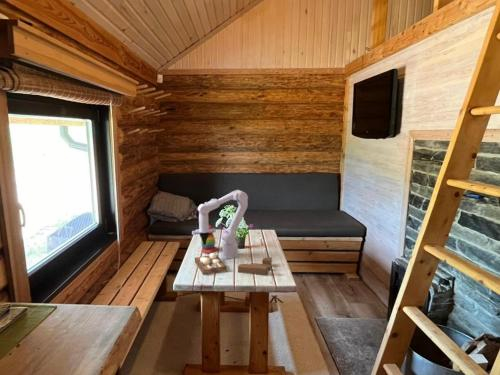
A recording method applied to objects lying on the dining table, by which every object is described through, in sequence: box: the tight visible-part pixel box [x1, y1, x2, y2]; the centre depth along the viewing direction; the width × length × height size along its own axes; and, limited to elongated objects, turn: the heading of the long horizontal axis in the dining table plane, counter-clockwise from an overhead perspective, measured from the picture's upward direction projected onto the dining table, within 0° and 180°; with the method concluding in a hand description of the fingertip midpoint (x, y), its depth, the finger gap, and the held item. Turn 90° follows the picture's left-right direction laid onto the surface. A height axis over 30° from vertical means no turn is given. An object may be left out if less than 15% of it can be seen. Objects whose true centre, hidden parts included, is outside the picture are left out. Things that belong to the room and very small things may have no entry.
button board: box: [194, 254, 228, 276], centre depth 195 cm, size 14×20×4 cm
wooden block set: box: [237, 256, 273, 277], centre depth 192 cm, size 17×6×18 cm
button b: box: [203, 258, 210, 266], centre depth 191 cm, size 4×4×4 cm
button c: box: [209, 252, 217, 260], centre depth 199 cm, size 4×4×4 cm
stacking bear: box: [200, 224, 219, 255], centre depth 219 cm, size 11×10×18 cm
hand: (204, 244), depth 203 cm, fingers closed
